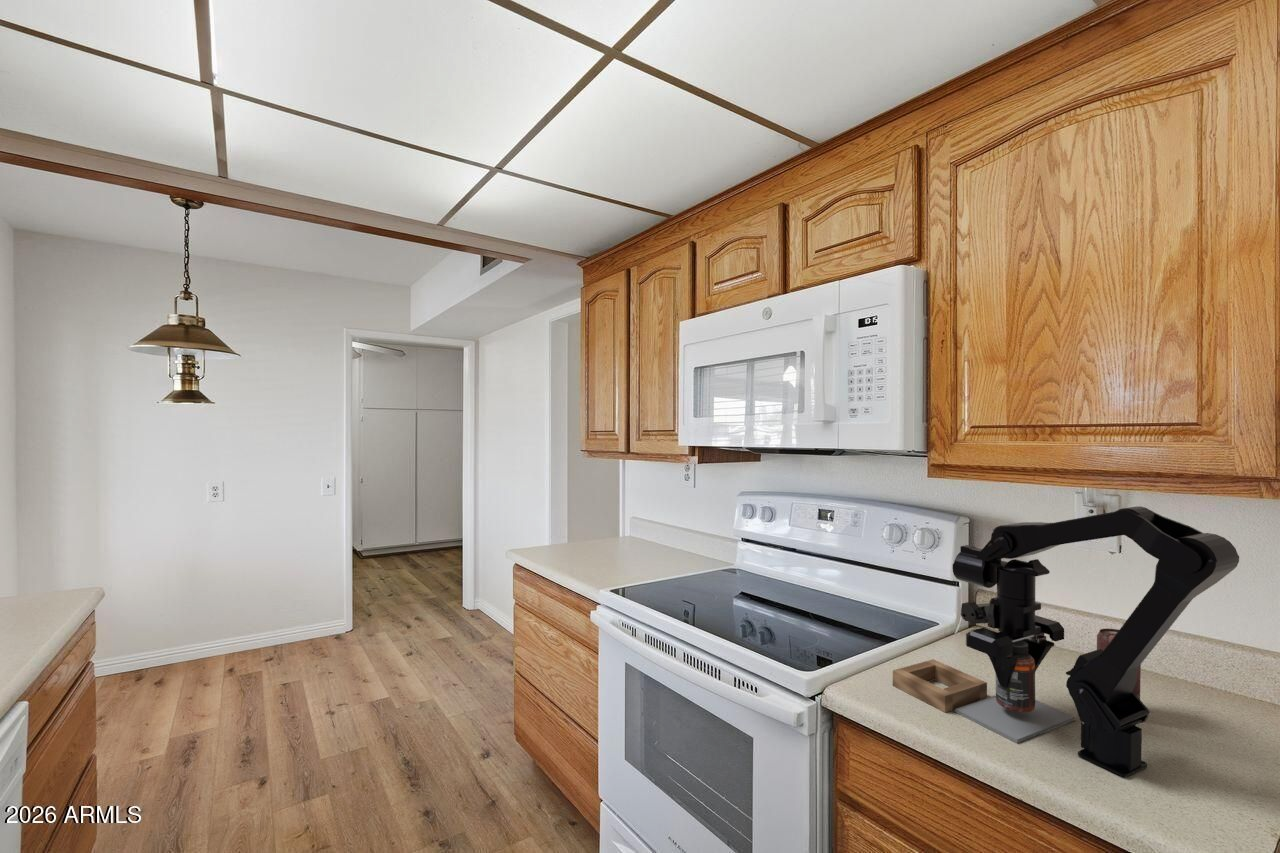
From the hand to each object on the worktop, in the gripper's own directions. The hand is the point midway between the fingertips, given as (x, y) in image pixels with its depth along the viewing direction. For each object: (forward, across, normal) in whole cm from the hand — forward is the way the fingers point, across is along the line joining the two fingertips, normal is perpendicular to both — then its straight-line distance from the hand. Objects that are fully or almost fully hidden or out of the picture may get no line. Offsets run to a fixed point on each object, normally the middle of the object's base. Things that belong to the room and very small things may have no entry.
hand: (1015, 683), depth 105 cm
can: (+6, -18, +7) cm, 20 cm away
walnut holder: (+6, +4, -12) cm, 14 cm away
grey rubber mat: (+6, 0, 0) cm, 6 cm away
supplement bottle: (+4, 0, 0) cm, 4 cm away
